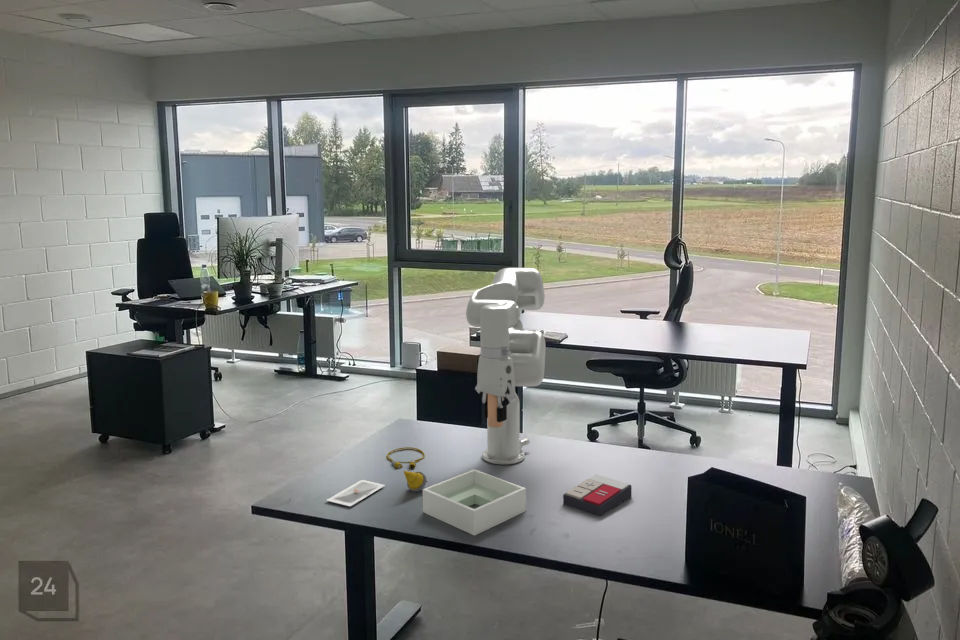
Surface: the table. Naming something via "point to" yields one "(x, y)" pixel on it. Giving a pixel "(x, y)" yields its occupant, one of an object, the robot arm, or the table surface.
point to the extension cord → (412, 462)
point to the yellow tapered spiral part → (415, 480)
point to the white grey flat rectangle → (355, 493)
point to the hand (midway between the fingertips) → (495, 418)
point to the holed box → (474, 501)
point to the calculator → (597, 495)
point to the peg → (493, 411)
